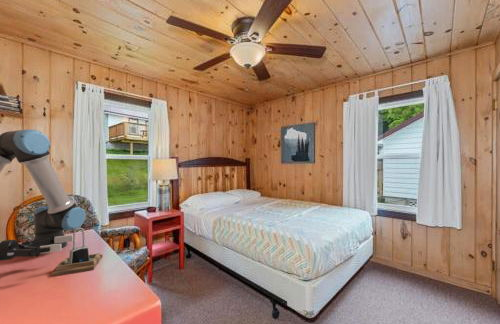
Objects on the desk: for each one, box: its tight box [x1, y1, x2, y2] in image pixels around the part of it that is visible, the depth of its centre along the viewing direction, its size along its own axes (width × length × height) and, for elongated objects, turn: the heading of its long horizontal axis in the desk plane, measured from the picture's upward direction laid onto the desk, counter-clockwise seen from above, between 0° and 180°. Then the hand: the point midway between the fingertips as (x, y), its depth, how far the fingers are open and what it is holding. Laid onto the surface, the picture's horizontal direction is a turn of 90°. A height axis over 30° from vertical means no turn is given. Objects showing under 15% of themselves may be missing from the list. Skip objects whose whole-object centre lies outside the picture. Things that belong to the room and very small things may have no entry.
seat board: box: [51, 252, 103, 278], centre depth 99 cm, size 15×14×3 cm
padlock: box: [68, 227, 90, 264], centre depth 99 cm, size 7×4×15 cm, turn 142°
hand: (67, 242), depth 98 cm, fingers open, 13 cm apart
